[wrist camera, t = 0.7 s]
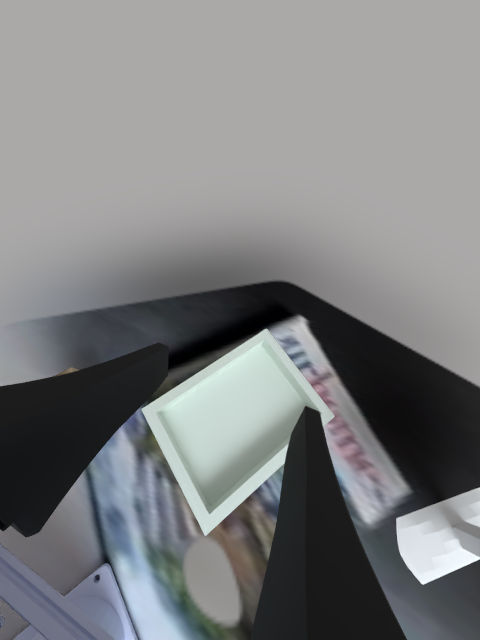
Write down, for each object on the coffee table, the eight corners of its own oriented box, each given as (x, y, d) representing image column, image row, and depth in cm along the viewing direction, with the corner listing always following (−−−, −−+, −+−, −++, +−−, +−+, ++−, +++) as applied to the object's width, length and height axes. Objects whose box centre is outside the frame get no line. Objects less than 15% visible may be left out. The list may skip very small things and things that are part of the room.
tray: (206, 522, 21) (205, 536, 18) (148, 410, 24) (141, 409, 22) (323, 416, 26) (334, 416, 24) (261, 336, 30) (266, 328, 27)
